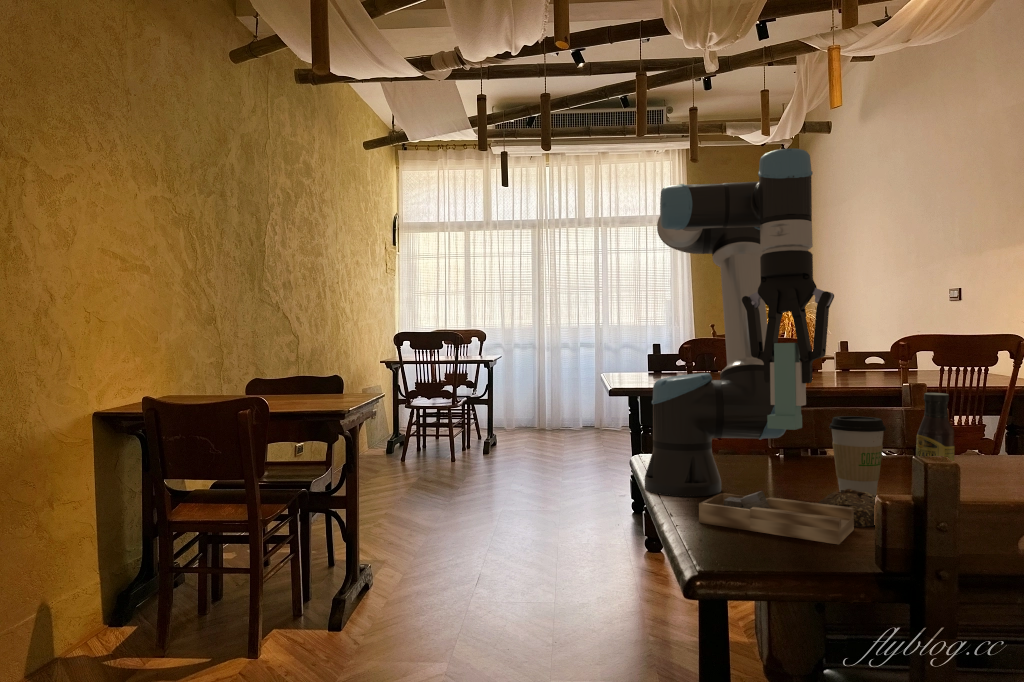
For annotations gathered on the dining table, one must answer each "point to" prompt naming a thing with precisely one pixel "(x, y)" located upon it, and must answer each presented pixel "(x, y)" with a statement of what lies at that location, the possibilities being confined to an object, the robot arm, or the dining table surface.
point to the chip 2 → (755, 501)
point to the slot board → (782, 518)
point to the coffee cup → (857, 452)
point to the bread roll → (854, 505)
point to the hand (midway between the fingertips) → (788, 404)
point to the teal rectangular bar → (785, 388)
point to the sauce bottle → (935, 428)
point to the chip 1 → (733, 502)
